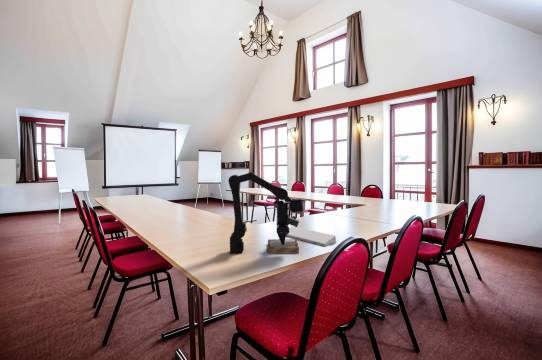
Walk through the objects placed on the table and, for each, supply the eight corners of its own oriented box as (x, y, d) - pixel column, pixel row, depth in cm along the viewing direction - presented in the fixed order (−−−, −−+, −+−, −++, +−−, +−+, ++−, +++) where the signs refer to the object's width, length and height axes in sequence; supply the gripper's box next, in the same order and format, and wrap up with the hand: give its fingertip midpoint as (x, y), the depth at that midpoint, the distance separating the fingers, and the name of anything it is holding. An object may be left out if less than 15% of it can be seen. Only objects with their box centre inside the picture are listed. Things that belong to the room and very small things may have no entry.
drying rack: (267, 253, 137) (267, 247, 137) (268, 244, 153) (268, 239, 153) (298, 252, 137) (298, 247, 137) (296, 244, 153) (296, 239, 152)
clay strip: (270, 250, 139) (270, 242, 139) (269, 248, 142) (269, 240, 142) (295, 248, 140) (295, 241, 140) (294, 246, 144) (294, 239, 144)
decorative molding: (326, 251, 148) (336, 243, 154) (324, 243, 147) (335, 235, 153) (283, 239, 174) (293, 232, 180) (281, 232, 173) (292, 226, 179)
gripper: (299, 215, 131) (299, 247, 132) (296, 209, 150) (296, 237, 150) (276, 215, 131) (276, 247, 132) (276, 209, 150) (276, 237, 151)
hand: (282, 242), depth 141 cm, fingers open, 9 cm apart
